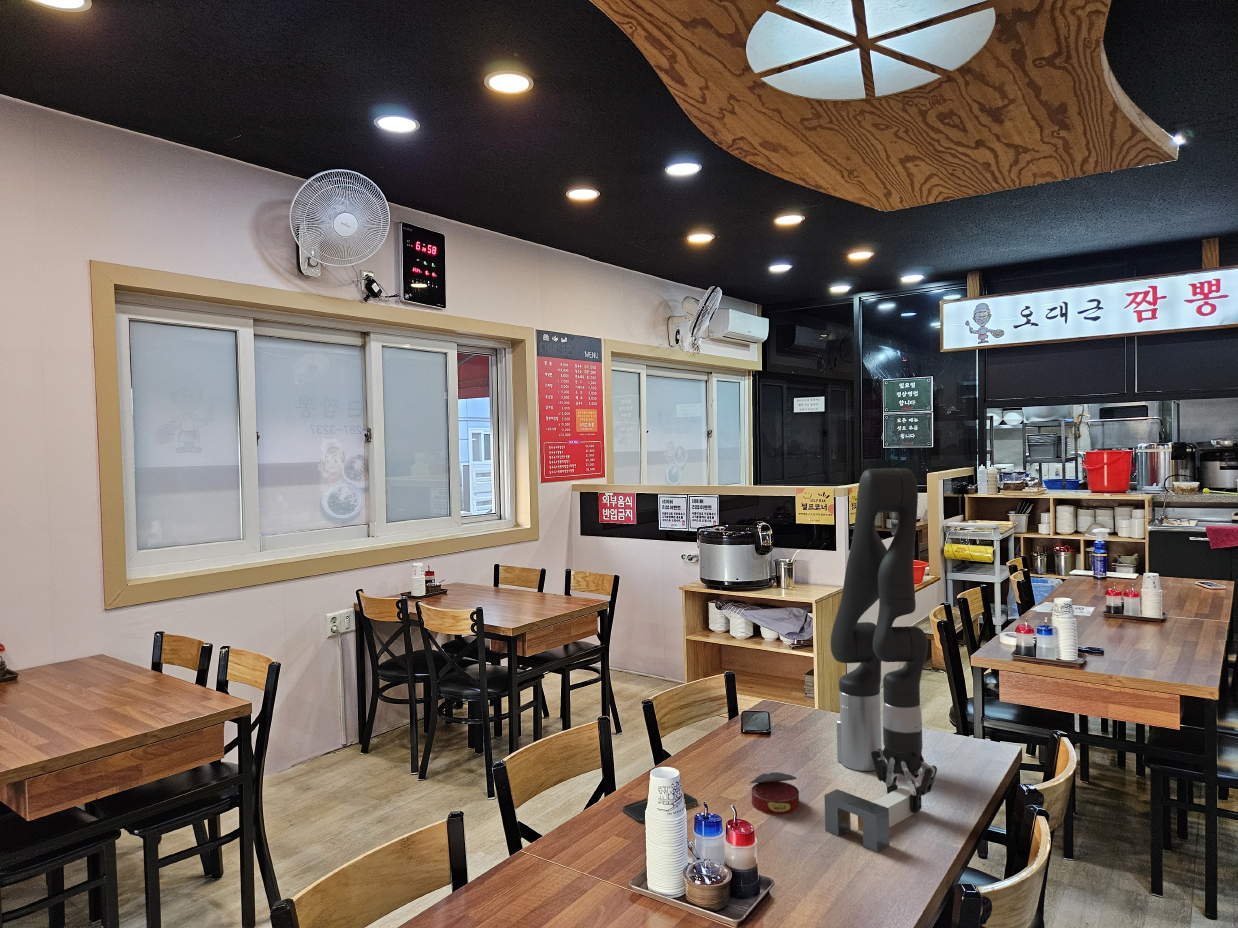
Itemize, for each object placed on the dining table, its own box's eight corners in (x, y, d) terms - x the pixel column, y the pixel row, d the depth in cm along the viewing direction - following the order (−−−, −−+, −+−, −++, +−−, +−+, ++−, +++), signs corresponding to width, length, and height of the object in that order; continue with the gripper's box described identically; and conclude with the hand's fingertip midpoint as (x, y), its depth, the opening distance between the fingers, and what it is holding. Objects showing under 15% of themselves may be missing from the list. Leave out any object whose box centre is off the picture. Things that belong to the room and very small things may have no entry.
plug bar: (858, 829, 154) (857, 809, 154) (903, 804, 164) (903, 785, 164) (873, 836, 151) (873, 815, 151) (919, 810, 161) (918, 791, 161)
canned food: (754, 830, 164) (731, 785, 166) (775, 807, 172) (753, 764, 174) (797, 819, 158) (772, 772, 160) (817, 795, 166) (793, 751, 168)
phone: (620, 806, 165) (677, 788, 173) (620, 812, 165) (677, 793, 173) (642, 821, 158) (699, 800, 167) (642, 826, 158) (700, 806, 167)
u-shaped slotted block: (825, 830, 154) (824, 794, 154) (837, 823, 156) (836, 788, 156) (877, 852, 145) (876, 814, 145) (889, 845, 147) (888, 808, 147)
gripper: (861, 720, 164) (863, 801, 164) (924, 738, 153) (927, 825, 153) (881, 711, 168) (883, 791, 169) (944, 728, 157) (947, 813, 158)
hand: (904, 807), depth 161 cm, fingers open, 4 cm apart
